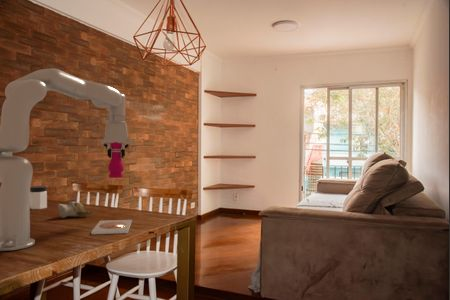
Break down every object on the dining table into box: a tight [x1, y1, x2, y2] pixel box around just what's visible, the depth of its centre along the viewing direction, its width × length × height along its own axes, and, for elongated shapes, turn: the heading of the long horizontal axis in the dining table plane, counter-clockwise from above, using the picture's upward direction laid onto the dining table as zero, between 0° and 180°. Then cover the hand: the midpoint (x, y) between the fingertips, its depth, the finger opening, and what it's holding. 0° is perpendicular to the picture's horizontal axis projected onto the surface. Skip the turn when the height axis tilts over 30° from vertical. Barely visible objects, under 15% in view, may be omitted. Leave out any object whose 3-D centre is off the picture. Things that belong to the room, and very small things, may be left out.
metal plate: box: [90, 219, 133, 236], centre depth 149 cm, size 20×14×1 cm
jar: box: [30, 185, 48, 210], centre depth 193 cm, size 9×8×12 cm
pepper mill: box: [107, 142, 125, 179], centre depth 164 cm, size 7×7×20 cm
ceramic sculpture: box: [57, 199, 93, 219], centre depth 171 cm, size 11×9×15 cm
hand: (116, 157), depth 164 cm, fingers closed on pepper mill, 5 cm apart
